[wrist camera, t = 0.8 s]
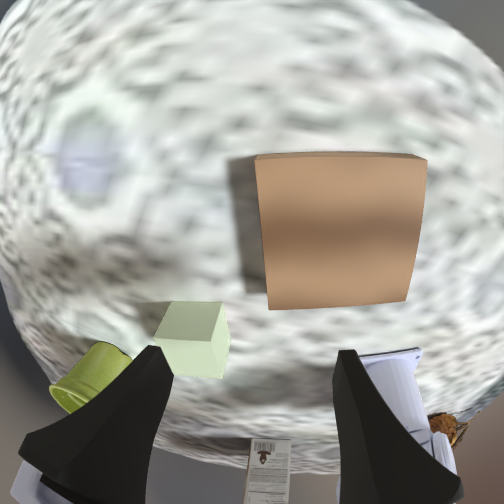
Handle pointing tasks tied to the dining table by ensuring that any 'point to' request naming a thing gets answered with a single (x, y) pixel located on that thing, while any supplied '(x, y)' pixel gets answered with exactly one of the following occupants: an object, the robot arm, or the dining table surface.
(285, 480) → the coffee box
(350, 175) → the tan block
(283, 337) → the dining table surface
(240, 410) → the dining table surface
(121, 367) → the plant pot
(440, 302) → the dining table surface
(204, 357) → the sage cube
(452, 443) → the seed pod
